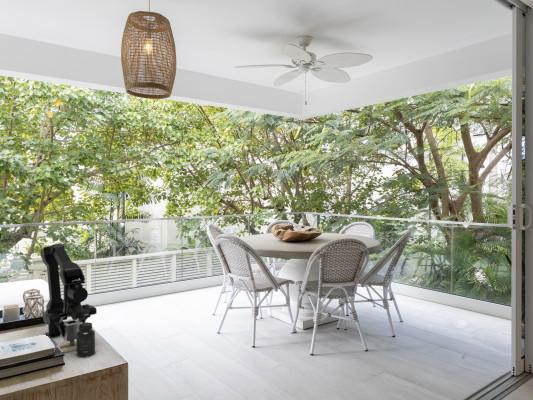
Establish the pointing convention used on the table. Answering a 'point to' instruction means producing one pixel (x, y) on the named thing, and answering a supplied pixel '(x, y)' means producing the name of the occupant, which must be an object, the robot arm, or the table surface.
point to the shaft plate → (68, 346)
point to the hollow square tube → (71, 329)
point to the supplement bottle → (85, 340)
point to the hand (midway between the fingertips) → (71, 334)
